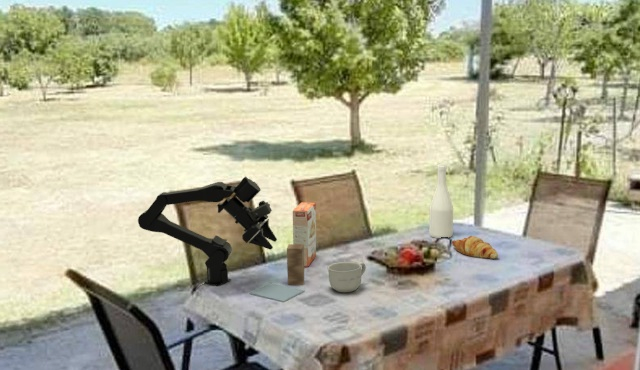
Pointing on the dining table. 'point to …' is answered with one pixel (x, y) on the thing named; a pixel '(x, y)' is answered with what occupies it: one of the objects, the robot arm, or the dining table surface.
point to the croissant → (475, 247)
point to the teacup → (346, 275)
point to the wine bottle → (441, 208)
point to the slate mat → (277, 292)
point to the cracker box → (305, 229)
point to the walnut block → (295, 264)
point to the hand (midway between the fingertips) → (274, 244)
